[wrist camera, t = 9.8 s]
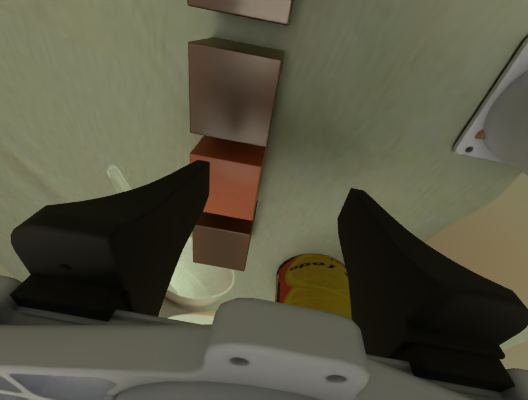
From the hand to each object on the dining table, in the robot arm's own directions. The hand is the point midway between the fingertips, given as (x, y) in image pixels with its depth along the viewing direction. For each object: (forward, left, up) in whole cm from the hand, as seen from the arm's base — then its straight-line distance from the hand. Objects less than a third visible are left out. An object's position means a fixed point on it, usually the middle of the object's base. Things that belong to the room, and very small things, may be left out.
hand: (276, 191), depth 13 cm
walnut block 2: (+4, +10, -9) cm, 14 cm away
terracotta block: (+4, +4, -9) cm, 11 cm away
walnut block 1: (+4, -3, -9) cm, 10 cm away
